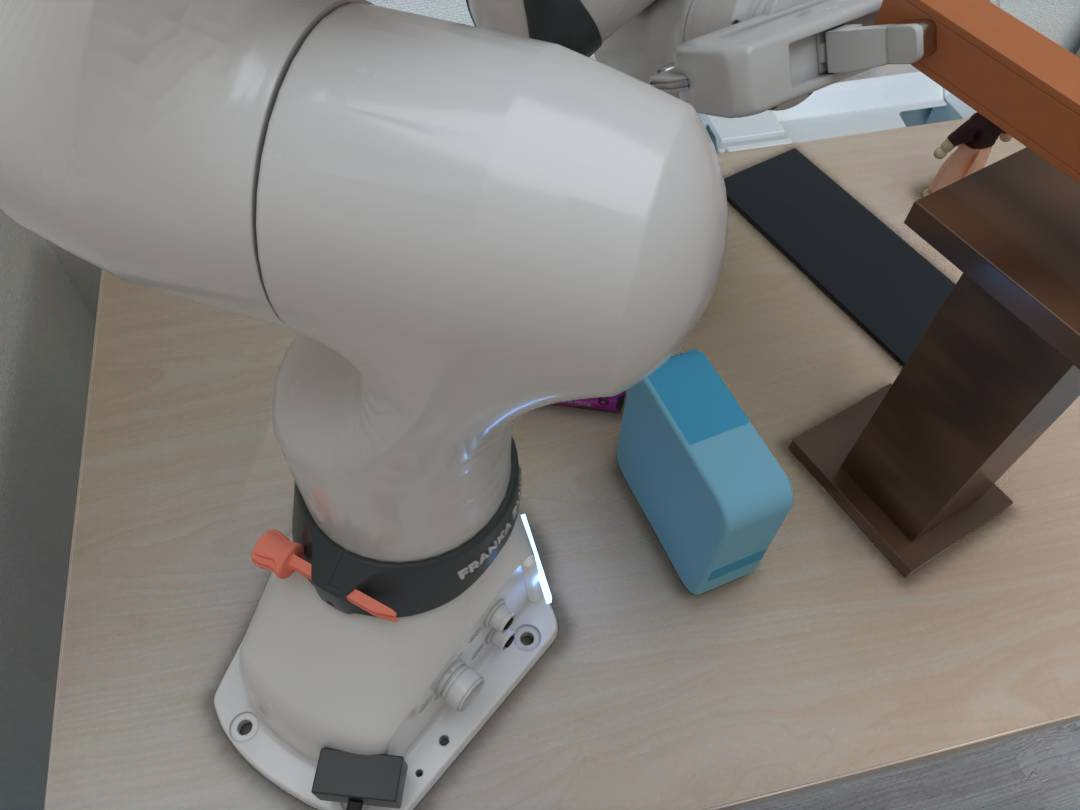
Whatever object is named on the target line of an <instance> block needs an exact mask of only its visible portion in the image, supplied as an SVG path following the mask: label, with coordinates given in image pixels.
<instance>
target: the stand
mask: <svg viewBox="0 0 1080 810" xmlns="http://www.w3.org/2000/svg"><path fill="white" fill-rule="evenodd" d="M903 223H904V225H905V226H906V227H907V228H909V229H910V230H911V231H913V232H914V233H915V234H916V235H918V237H920V238H921V239H922V240H923V241H925V242H926V243H927V244H928V245H929V246H931V247H932V248H933V249H934V250H935V251H937V253H939V255H941V256H943V258H945V259H946V260H947V261H948V262H950V263H951V264H952V265H953V266H955V267H956V268H957V269H958V270H959V271H961V275H960V277H959V278H958V279H957V281H956V283H955V284H956V285H955V286H954V288H953V289H952V291H951V293H950V294H949V296H948V297H947V299H946V300H945V302H944V304H943V305H942V307H941V308H940V310H939V312H938V313H937V315H936V316H935V318H934V319H933V321H932V323H931V324H930V326H929V327H928V329H927V330H926V332H925V334H924V335H923V337H922V338H921V340H920V341H919V343H918V345H917V346H916V348H915V349H914V351H913V353H912V354H911V356H910V357H909V359H908V360H907V362H906V364H905V365H904V367H903V366H902V368H901V370H900V371H899V373H898V375H897V376H896V378H895V379H894V381H893V382H892V383H888V384H886V385H885V386H883V387H881V388H880V389H878V390H876V391H874V392H873V393H871V394H869V395H868V396H865V397H864V398H862V399H861V400H858V401H857V402H855V403H853V404H851V405H849V406H848V407H846V408H845V409H843V410H841V411H839V412H838V413H836V414H834V415H832V416H831V417H829V418H827V419H825V420H824V421H822V422H820V423H819V424H817V425H815V426H813V427H812V428H810V429H808V430H806V431H804V432H803V433H801V434H799V435H798V436H796V437H794V438H793V439H791V441H790V443H789V445H788V446H787V448H788V449H789V451H790V452H791V453H792V454H793V455H794V456H795V458H796V459H797V460H798V461H799V462H800V463H801V464H802V465H803V466H804V468H806V470H808V472H809V473H810V474H811V475H812V476H813V478H814V479H816V480H817V482H818V483H819V484H820V485H821V486H822V487H823V488H824V489H825V490H826V492H827V493H828V494H829V495H830V496H831V497H832V499H833V500H835V502H836V503H837V504H838V505H839V506H840V507H841V508H842V509H843V511H844V512H845V513H846V514H847V515H848V516H849V518H851V519H852V521H854V523H855V524H856V525H857V526H858V527H859V528H860V529H861V531H862V532H863V533H864V534H865V535H866V536H867V537H868V538H869V539H870V541H872V543H873V544H874V545H875V547H877V548H878V549H879V551H880V552H881V553H882V554H883V555H884V556H885V557H886V558H887V559H888V560H889V562H890V563H891V564H892V565H893V566H894V567H895V569H897V571H898V572H899V573H900V574H901V575H902V576H903V577H904V578H908V577H909V576H911V575H912V574H913V573H915V572H917V571H918V570H920V569H921V568H923V567H924V566H926V565H927V564H929V563H930V562H931V561H932V560H935V559H936V558H938V557H939V556H940V555H942V554H943V553H945V552H946V551H948V550H949V549H951V548H952V547H953V546H955V545H956V544H958V543H959V542H961V541H962V540H963V539H965V538H967V537H969V536H970V535H972V534H973V533H974V532H976V531H977V530H978V529H980V528H982V527H983V526H985V525H986V524H988V523H990V521H992V520H993V519H994V518H996V517H998V516H999V515H1001V514H1003V512H1005V511H1006V510H1007V509H1009V508H1010V507H1011V505H1013V504H1014V501H1013V500H1012V499H1011V498H1010V497H1009V496H1008V495H1007V494H1005V492H1003V491H1002V489H1000V488H999V486H997V484H995V483H997V482H998V481H999V480H1000V479H1001V477H1002V476H1003V475H1004V474H1005V473H1007V471H1008V470H1009V469H1010V468H1011V467H1012V466H1013V465H1014V464H1016V462H1017V461H1018V460H1019V459H1020V458H1021V457H1022V456H1023V455H1024V453H1026V452H1027V450H1029V448H1031V446H1032V445H1034V443H1036V442H1037V440H1038V439H1039V438H1040V437H1042V435H1043V434H1044V433H1045V432H1047V430H1048V429H1049V428H1050V427H1051V426H1052V425H1053V424H1054V423H1055V421H1057V420H1058V419H1059V418H1060V417H1061V416H1062V414H1064V413H1065V411H1067V410H1068V408H1069V407H1070V406H1071V405H1072V404H1073V403H1074V402H1075V401H1076V400H1077V399H1078V398H1079V397H1080V185H1079V184H1078V183H1077V182H1075V181H1074V180H1072V179H1071V178H1069V177H1068V176H1067V175H1065V174H1064V173H1062V172H1061V171H1060V170H1058V169H1057V168H1055V167H1054V166H1053V165H1051V164H1050V163H1048V162H1047V161H1046V160H1044V159H1043V158H1041V157H1040V156H1039V155H1037V154H1036V153H1034V152H1033V151H1032V150H1030V149H1029V148H1027V147H1026V146H1025V147H1023V148H1022V149H1019V150H1018V151H1015V152H1013V153H1012V154H1009V155H1007V156H1005V157H1004V158H1001V159H999V160H997V161H995V162H992V163H991V164H989V165H987V166H985V167H984V168H982V169H980V170H978V171H976V172H974V173H972V174H970V175H968V176H966V177H964V178H962V179H960V180H958V181H956V182H954V183H952V184H949V185H947V186H945V187H943V188H941V189H939V190H937V191H935V192H933V193H931V194H929V195H927V196H925V197H923V196H922V197H921V198H918V199H917V200H914V202H913V203H912V205H911V207H910V209H909V211H908V213H907V215H906V217H905V219H904V221H903Z"/></svg>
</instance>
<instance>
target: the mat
mask: <svg viewBox="0 0 1080 810" xmlns="http://www.w3.org/2000/svg"><path fill="white" fill-rule="evenodd" d="M724 182H725V186H726V194H727V202H728V203H729V204H731V206H732V207H734V209H736V210H737V211H738V212H739V213H740V214H741V215H742V216H743V217H744V218H745V219H746V220H747V221H748V222H749V223H751V224H752V226H754V227H755V228H756V229H757V230H758V231H759V232H760V233H761V234H762V235H763V236H764V237H765V238H766V239H767V240H768V241H769V242H771V243H772V244H773V245H774V246H775V247H776V248H777V249H778V250H779V251H780V252H781V253H782V254H783V255H784V256H786V258H788V259H789V260H790V261H791V262H792V263H793V264H794V265H795V266H796V267H797V268H798V269H799V270H800V271H801V272H802V273H803V274H804V275H805V276H806V277H808V278H809V279H810V280H811V281H812V282H813V284H815V285H816V287H818V288H819V289H820V290H821V291H822V292H824V294H826V296H828V297H829V298H830V299H831V300H832V301H833V302H834V303H835V304H836V305H837V306H838V307H839V308H840V309H841V310H842V311H843V312H844V313H846V315H848V316H849V317H850V319H852V321H854V323H856V324H857V325H858V326H859V327H860V328H861V329H863V330H864V332H866V333H867V335H869V336H870V337H871V338H872V339H873V340H874V341H875V342H876V343H877V344H878V345H879V346H881V348H882V349H884V351H886V352H887V353H888V354H889V355H890V356H891V358H893V359H894V360H895V361H896V362H897V363H898V364H899V365H900V366H901V367H902V368H903V367H904V365H905V364H906V362H907V360H908V359H909V357H910V356H911V354H912V353H913V351H914V349H915V348H916V346H917V345H918V343H919V341H920V340H921V338H922V337H923V335H924V334H925V332H926V330H927V329H928V327H929V326H930V324H931V323H932V321H933V319H934V318H935V316H936V315H937V313H938V312H939V310H940V308H941V307H942V305H943V304H944V302H945V300H946V299H947V297H948V296H949V294H950V293H951V291H952V289H953V288H954V286H955V285H956V283H955V282H953V281H952V280H951V279H950V278H949V277H948V276H947V275H945V274H944V273H943V272H942V271H941V270H939V268H937V266H935V265H933V264H932V263H931V262H930V261H929V260H928V259H927V258H926V257H925V256H923V255H922V254H921V253H920V252H918V251H917V250H916V249H915V248H914V247H912V246H911V245H910V244H909V243H908V242H907V241H905V240H904V239H903V238H902V237H901V236H900V235H898V233H896V232H895V231H894V230H892V229H891V228H890V227H889V226H888V225H887V224H886V223H884V222H883V221H882V220H880V218H878V217H877V216H876V215H875V214H874V213H872V212H871V211H870V210H869V209H868V208H866V207H865V206H864V205H863V203H862V204H861V202H859V200H857V199H856V198H855V197H854V196H852V195H851V194H850V193H849V192H848V191H847V190H845V189H844V188H843V187H842V186H840V185H839V184H838V182H836V181H835V180H833V179H832V178H831V177H830V176H829V175H828V174H826V173H825V172H824V171H823V170H821V169H820V168H819V167H818V166H817V165H816V164H815V163H813V162H812V161H811V160H810V159H809V158H808V157H807V156H805V155H804V154H803V153H802V152H800V151H799V150H798V149H797V148H796V147H794V148H791V149H790V150H787V151H785V152H782V153H780V154H778V155H775V156H773V157H770V158H768V159H766V160H764V161H761V162H758V163H757V164H754V165H752V166H750V167H748V168H745V169H743V170H741V171H738V172H735V173H733V174H731V175H729V176H726V177H724Z"/></svg>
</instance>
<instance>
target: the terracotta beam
mask: <svg viewBox="0 0 1080 810" xmlns="http://www.w3.org/2000/svg"><path fill="white" fill-rule="evenodd" d="M911 19H919V20H920V19H932V20H933V21H935V23H936V26H937V33H936V36H935V39H936V41H937V49H936V51H935V53H934V54H932V55H931V56H928V57H926V58H924V59H921V60H919V61H917V62H915V63H912V64H910V65H911V66H912V67H913V68H915V69H916V70H917V71H919V72H921V73H922V74H923V75H924V76H926V77H927V78H928V79H930V80H932V81H933V82H934V83H935V84H937V85H939V86H940V87H941V88H943V89H944V90H945V91H947V92H948V93H950V94H951V95H953V96H954V97H956V98H957V99H959V100H960V101H961V102H962V103H964V104H965V105H967V106H968V107H969V108H971V109H972V110H973V111H975V112H978V113H979V114H981V115H982V116H984V117H985V118H986V119H988V120H989V121H991V122H992V123H994V124H995V125H996V126H998V127H999V128H1001V129H1002V130H1003V131H1005V132H1006V133H1008V134H1009V135H1010V136H1012V137H1013V138H1012V139H1014V140H1016V141H1018V142H1019V143H1020V144H1021V145H1023V146H1024V147H1025V148H1026V147H1027V148H1029V149H1030V150H1032V151H1033V152H1034V153H1036V154H1037V155H1039V156H1040V157H1041V158H1043V159H1044V160H1046V161H1047V162H1048V163H1050V164H1051V165H1053V166H1054V167H1055V168H1057V169H1058V170H1060V171H1061V172H1062V173H1064V174H1065V175H1067V176H1068V177H1069V178H1071V179H1072V180H1074V181H1075V182H1077V183H1078V184H1079V185H1080V57H1079V56H1077V55H1076V54H1074V53H1072V52H1071V51H1070V50H1068V49H1066V48H1065V47H1063V46H1061V45H1060V44H1058V42H1057V43H1056V42H1055V41H1053V40H1052V39H1050V38H1049V37H1047V36H1045V35H1044V34H1042V33H1041V32H1040V31H1037V30H1036V29H1034V28H1032V27H1031V26H1030V25H1028V24H1026V23H1024V22H1023V21H1022V20H1020V19H1018V18H1017V17H1015V16H1013V15H1012V14H1010V13H1009V12H1007V11H1006V10H1004V9H1002V8H1001V7H1000V8H999V7H997V6H996V5H994V4H993V3H991V2H989V1H988V0H883V2H882V5H881V7H880V10H879V12H878V15H877V18H876V20H875V23H874V25H884V24H896V23H899V22H902V21H905V20H911Z"/></svg>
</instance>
